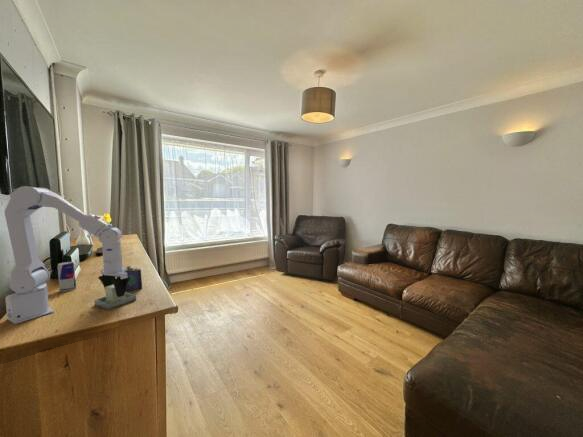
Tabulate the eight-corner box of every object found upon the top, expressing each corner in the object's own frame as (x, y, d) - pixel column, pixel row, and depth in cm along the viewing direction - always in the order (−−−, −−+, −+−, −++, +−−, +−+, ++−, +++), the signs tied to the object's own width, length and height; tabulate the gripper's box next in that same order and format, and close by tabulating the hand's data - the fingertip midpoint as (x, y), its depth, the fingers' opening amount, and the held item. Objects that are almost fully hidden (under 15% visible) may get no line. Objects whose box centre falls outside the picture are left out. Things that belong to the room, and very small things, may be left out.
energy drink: (72, 290, 104) (70, 264, 103) (57, 292, 102) (54, 265, 101) (78, 286, 109) (76, 261, 108) (63, 288, 107) (61, 262, 106)
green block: (112, 304, 88) (111, 288, 88) (106, 302, 90) (105, 286, 90) (125, 299, 92) (124, 284, 92) (119, 297, 94) (118, 282, 94)
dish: (108, 310, 85) (107, 304, 85) (94, 305, 89) (94, 300, 89) (136, 300, 93) (136, 295, 93) (122, 295, 98) (122, 291, 98)
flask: (116, 292, 101) (114, 268, 101) (119, 290, 104) (117, 266, 103) (141, 289, 104) (139, 265, 104) (143, 287, 107) (141, 264, 106)
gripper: (134, 259, 90) (137, 293, 91) (114, 255, 97) (116, 287, 98) (114, 263, 84) (116, 300, 85) (93, 259, 91) (96, 294, 92)
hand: (115, 294), depth 91 cm, fingers open, 7 cm apart
